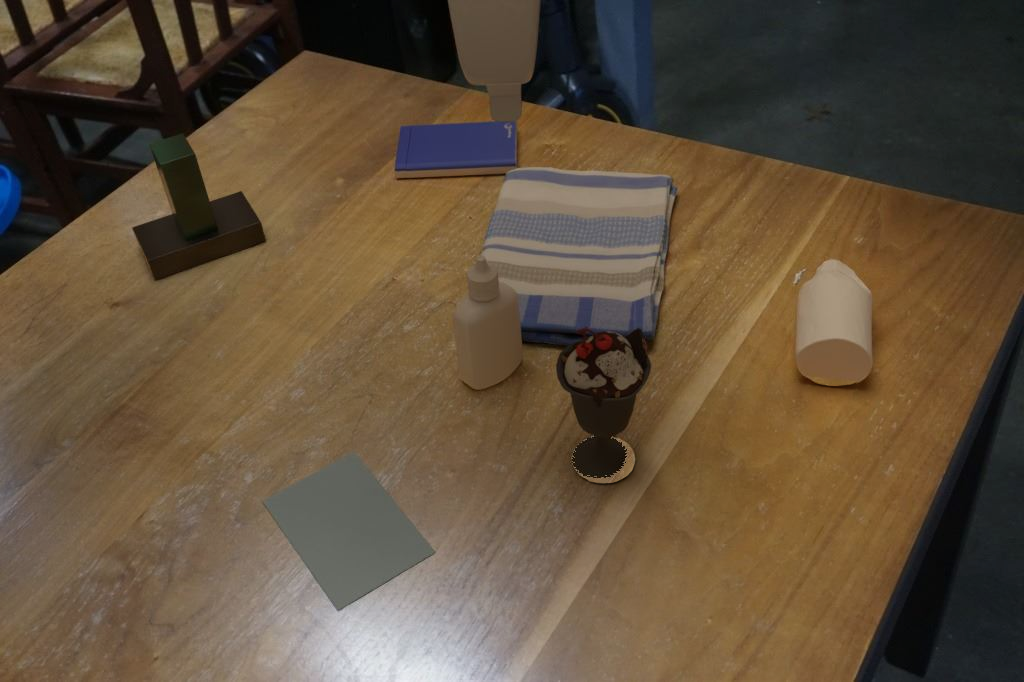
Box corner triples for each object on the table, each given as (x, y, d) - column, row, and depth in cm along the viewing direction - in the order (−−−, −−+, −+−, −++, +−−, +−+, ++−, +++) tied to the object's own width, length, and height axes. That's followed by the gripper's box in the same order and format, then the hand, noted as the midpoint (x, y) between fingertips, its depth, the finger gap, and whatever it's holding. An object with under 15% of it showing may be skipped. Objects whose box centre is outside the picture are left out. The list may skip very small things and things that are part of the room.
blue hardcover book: (516, 118, 117) (400, 123, 118) (516, 161, 111) (394, 167, 112) (517, 130, 118) (402, 136, 119) (517, 174, 112) (396, 180, 113)
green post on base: (154, 280, 103) (119, 184, 95) (139, 246, 107) (103, 151, 99) (266, 241, 106) (240, 145, 99) (246, 210, 110) (220, 115, 103)
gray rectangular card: (261, 501, 83) (261, 500, 83) (354, 451, 86) (354, 451, 86) (337, 611, 76) (337, 610, 76) (435, 552, 79) (435, 551, 79)
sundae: (550, 486, 82) (543, 341, 72) (571, 421, 87) (566, 276, 77) (637, 502, 81) (642, 355, 71) (654, 435, 86) (660, 288, 75)
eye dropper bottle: (453, 359, 93) (439, 248, 85) (518, 345, 94) (509, 234, 86) (464, 395, 90) (450, 283, 82) (531, 380, 91) (523, 268, 82)
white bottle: (865, 293, 96) (876, 243, 92) (867, 391, 88) (879, 340, 84) (795, 286, 97) (803, 236, 93) (790, 382, 89) (798, 332, 85)
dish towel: (678, 191, 108) (679, 167, 106) (657, 357, 92) (658, 333, 90) (505, 181, 111) (503, 158, 109) (455, 340, 95) (452, 316, 93)
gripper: (448, -219, 66) (467, -2, 75) (418, -80, 51) (446, 169, 60) (554, -225, 66) (559, -6, 75) (554, -86, 51) (561, 165, 60)
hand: (509, 74), depth 68 cm, fingers open, 8 cm apart
